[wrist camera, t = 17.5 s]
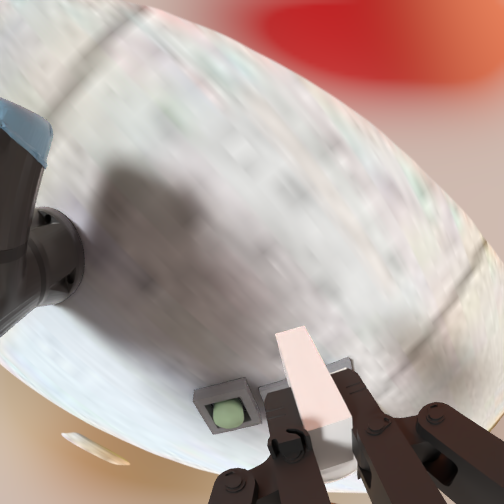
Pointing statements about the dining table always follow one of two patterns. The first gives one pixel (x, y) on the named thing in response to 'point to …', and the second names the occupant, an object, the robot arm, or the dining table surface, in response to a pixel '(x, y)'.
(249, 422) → the button housing
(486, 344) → the dining table surface
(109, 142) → the dining table surface
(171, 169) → the dining table surface
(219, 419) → the button
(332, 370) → the board
